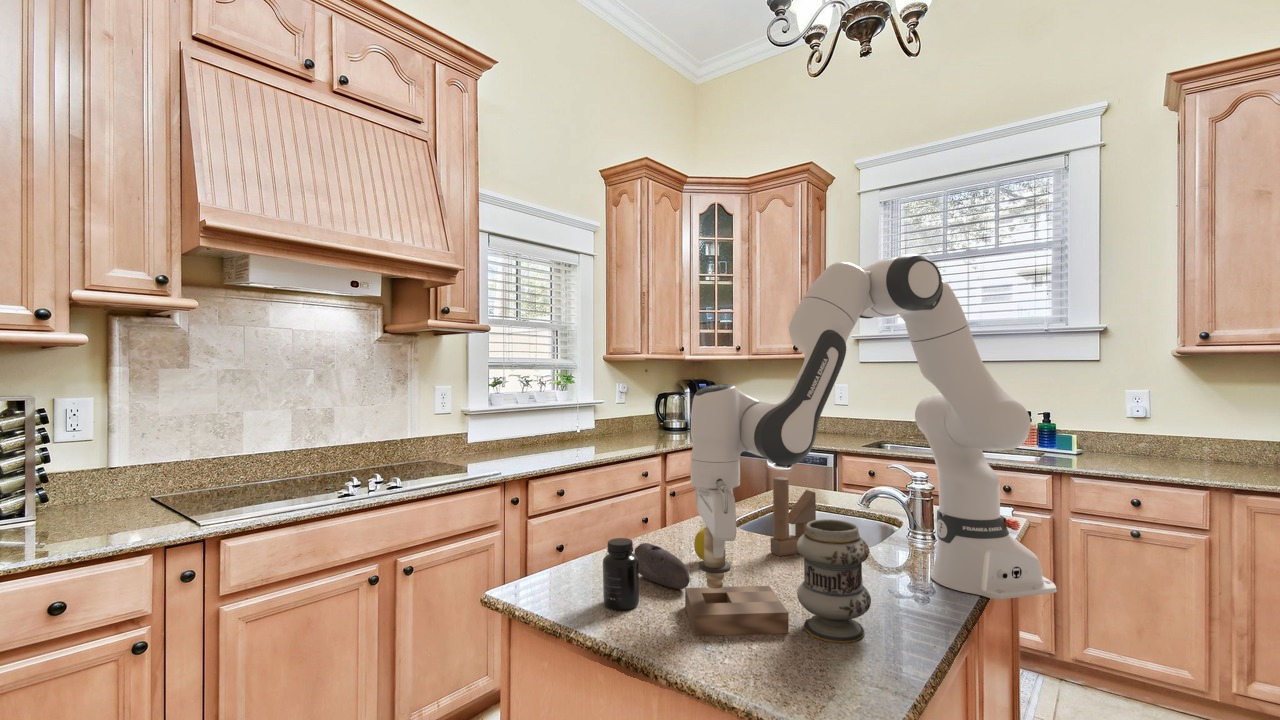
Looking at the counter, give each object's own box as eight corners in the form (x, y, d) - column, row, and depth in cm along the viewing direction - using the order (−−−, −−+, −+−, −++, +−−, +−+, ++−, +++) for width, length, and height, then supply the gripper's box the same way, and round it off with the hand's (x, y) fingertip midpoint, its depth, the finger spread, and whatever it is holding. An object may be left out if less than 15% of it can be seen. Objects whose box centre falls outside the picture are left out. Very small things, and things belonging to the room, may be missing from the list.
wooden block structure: (816, 551, 144) (815, 476, 144) (779, 557, 140) (778, 480, 140) (806, 546, 148) (806, 473, 148) (769, 552, 143) (769, 477, 143)
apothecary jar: (814, 609, 111) (813, 511, 111) (881, 627, 103) (880, 522, 103) (785, 632, 101) (784, 526, 101) (856, 654, 94) (855, 539, 94)
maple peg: (727, 579, 110) (727, 525, 110) (733, 591, 105) (733, 534, 105) (696, 580, 110) (697, 525, 110) (701, 591, 105) (701, 534, 105)
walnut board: (769, 604, 113) (769, 585, 113) (788, 633, 101) (788, 612, 101) (685, 606, 112) (685, 588, 112) (694, 636, 100) (694, 615, 100)
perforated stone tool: (697, 591, 120) (697, 556, 120) (678, 598, 117) (677, 562, 117) (650, 571, 132) (650, 539, 132) (631, 576, 128) (631, 544, 128)
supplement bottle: (615, 594, 118) (615, 534, 118) (645, 601, 115) (645, 539, 115) (595, 607, 112) (595, 543, 112) (626, 614, 109) (626, 548, 109)
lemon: (706, 568, 133) (706, 532, 133) (689, 561, 137) (689, 527, 137) (723, 562, 136) (723, 527, 136) (706, 556, 141) (706, 522, 141)
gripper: (745, 486, 97) (745, 571, 97) (721, 464, 118) (721, 535, 118) (707, 487, 97) (707, 572, 97) (690, 465, 117) (690, 535, 117)
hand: (715, 551), depth 108 cm, fingers closed on maple peg, 4 cm apart
